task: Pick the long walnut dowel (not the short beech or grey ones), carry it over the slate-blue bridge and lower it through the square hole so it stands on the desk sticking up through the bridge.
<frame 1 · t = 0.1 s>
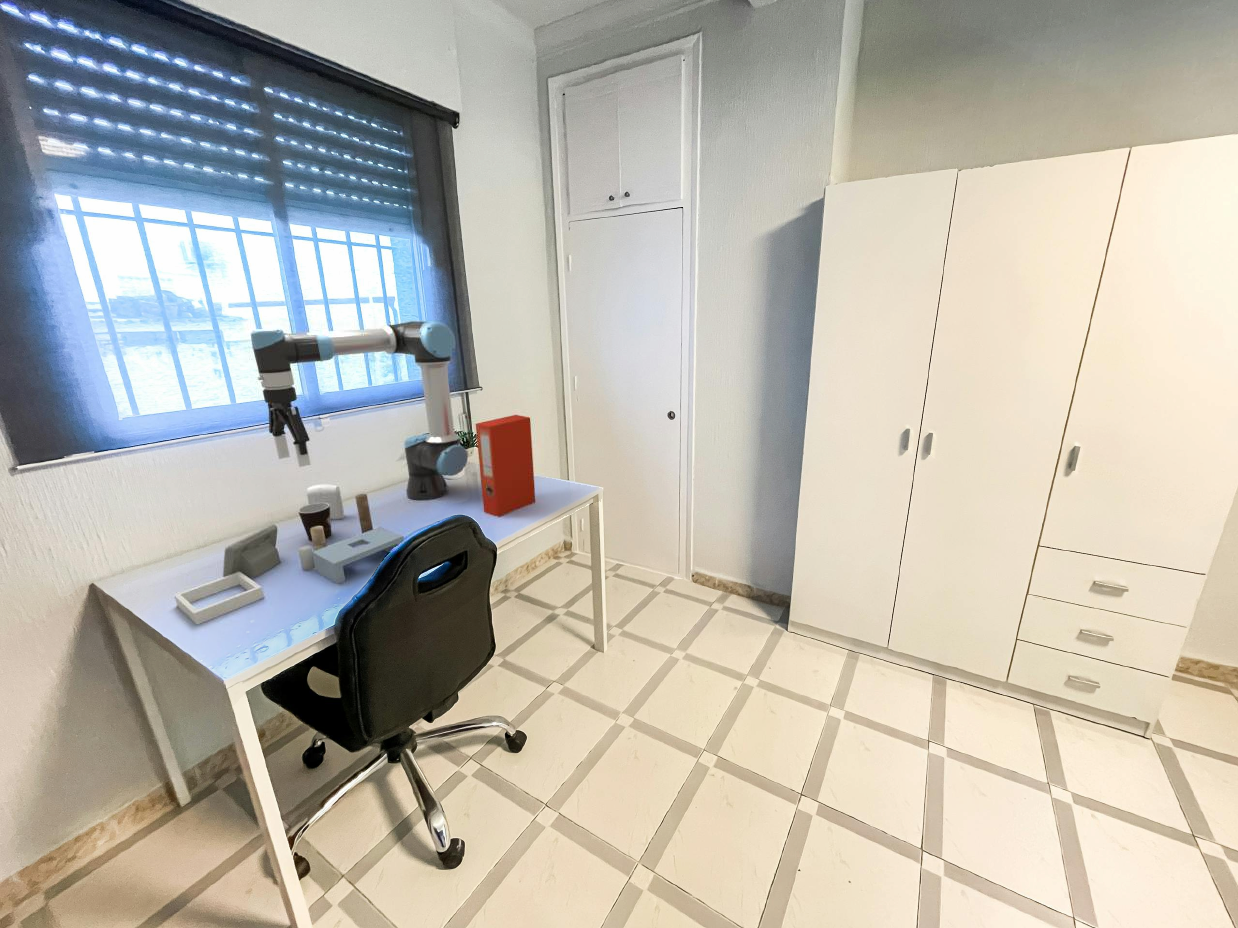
hand: (294, 461, 147), 28 cm above the table, fingers open, 13 cm apart
photo printer: (328, 518, 179), on the table
bridge: (362, 562, 147), on the table
digital clock: (255, 569, 145), on the table
medium dowel: (322, 556, 152), on the table
coffee mug: (323, 535, 166), on the table
short dowel: (309, 567, 145), on the table
file binder: (510, 507, 186), on the table
long dowel: (369, 540, 161), on the table
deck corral: (221, 601, 129), on the table
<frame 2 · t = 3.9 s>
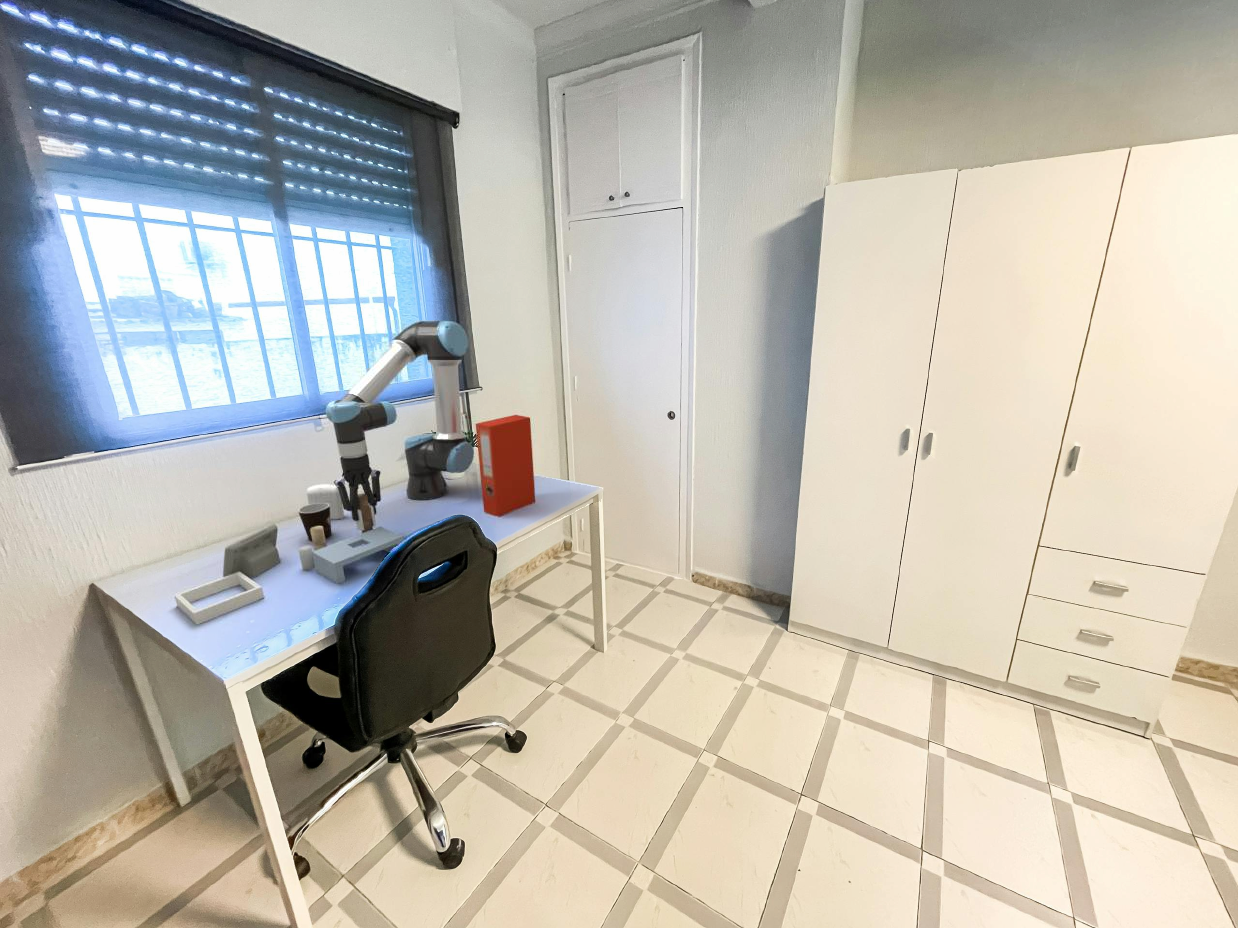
hand: (366, 526, 160), 5 cm above the table, fingers closed on long dowel, 3 cm apart
long dowel: (369, 540, 161), on the table, touching gripper
everything else where it was.
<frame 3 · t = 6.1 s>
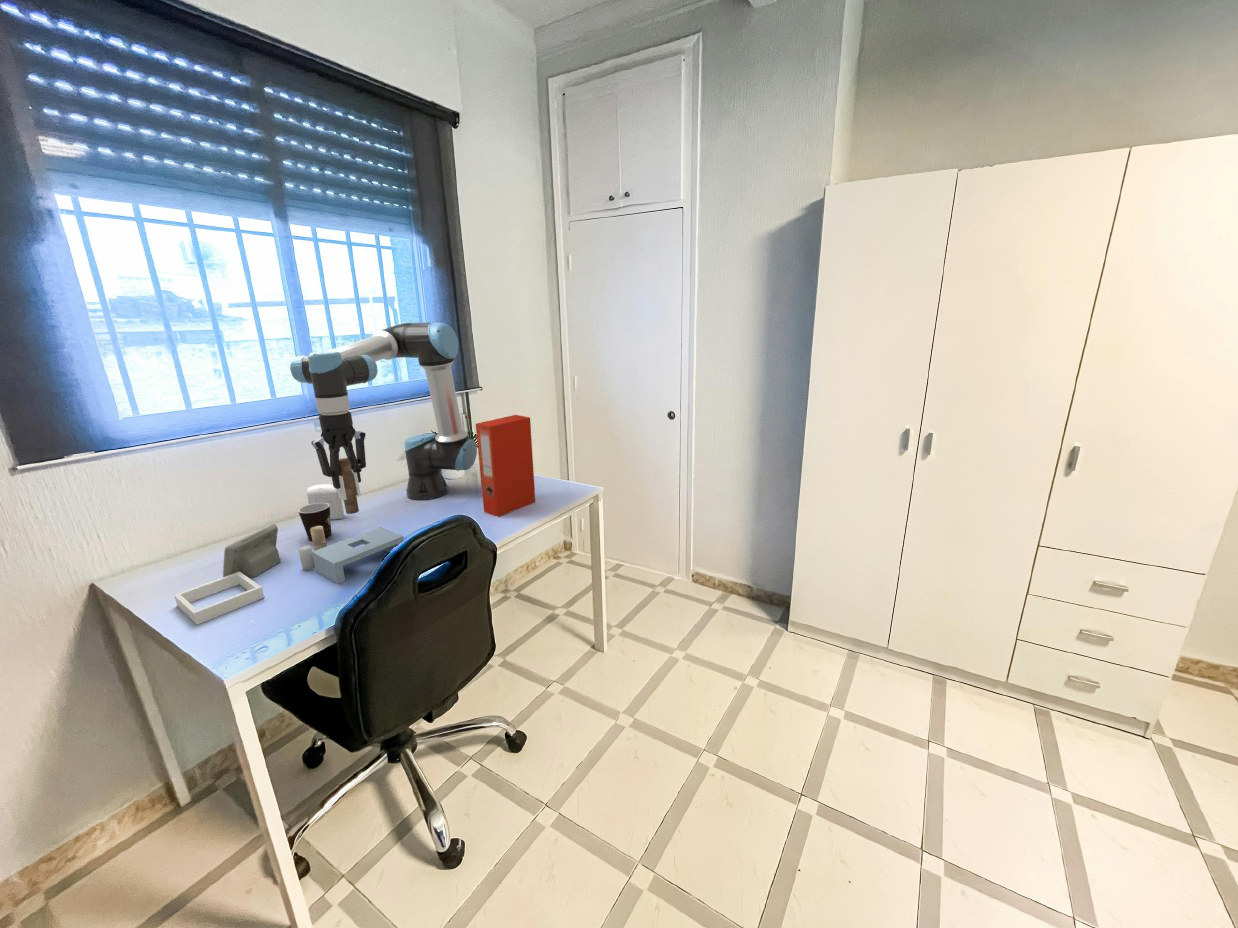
hand: (349, 496, 141), 20 cm above the table, fingers closed on long dowel, 3 cm apart
long dowel: (352, 511, 143), point 16 cm above the table, touching gripper
everything else where it was.
when the fingers open (8 cm above the table, at t = 8.5 s): long dowel drops 3 cm, on the table.
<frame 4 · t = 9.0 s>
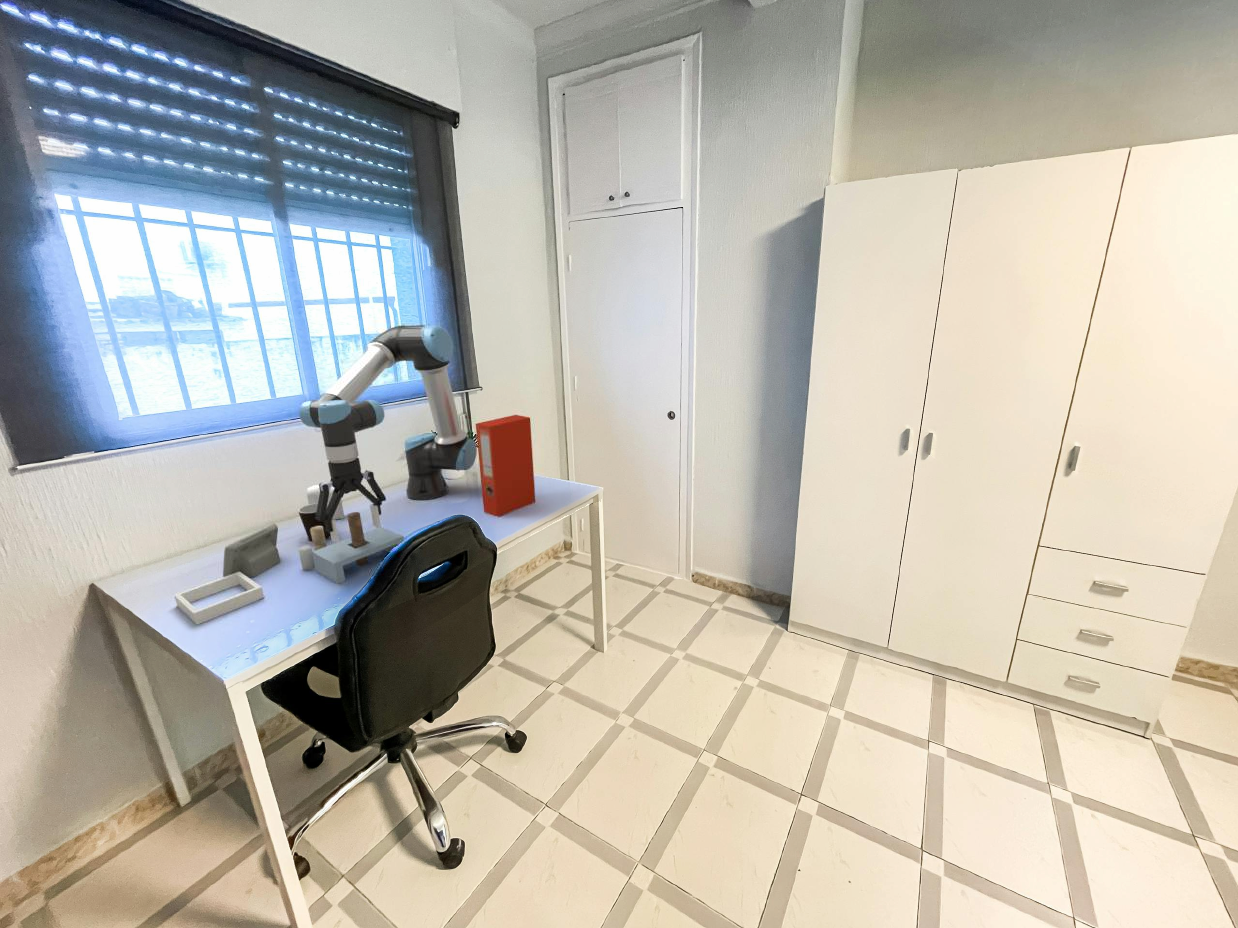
hand: (357, 533, 145), 9 cm above the table, fingers open, 11 cm apart
long dowel: (362, 562, 147), on the table
everything else where it was.
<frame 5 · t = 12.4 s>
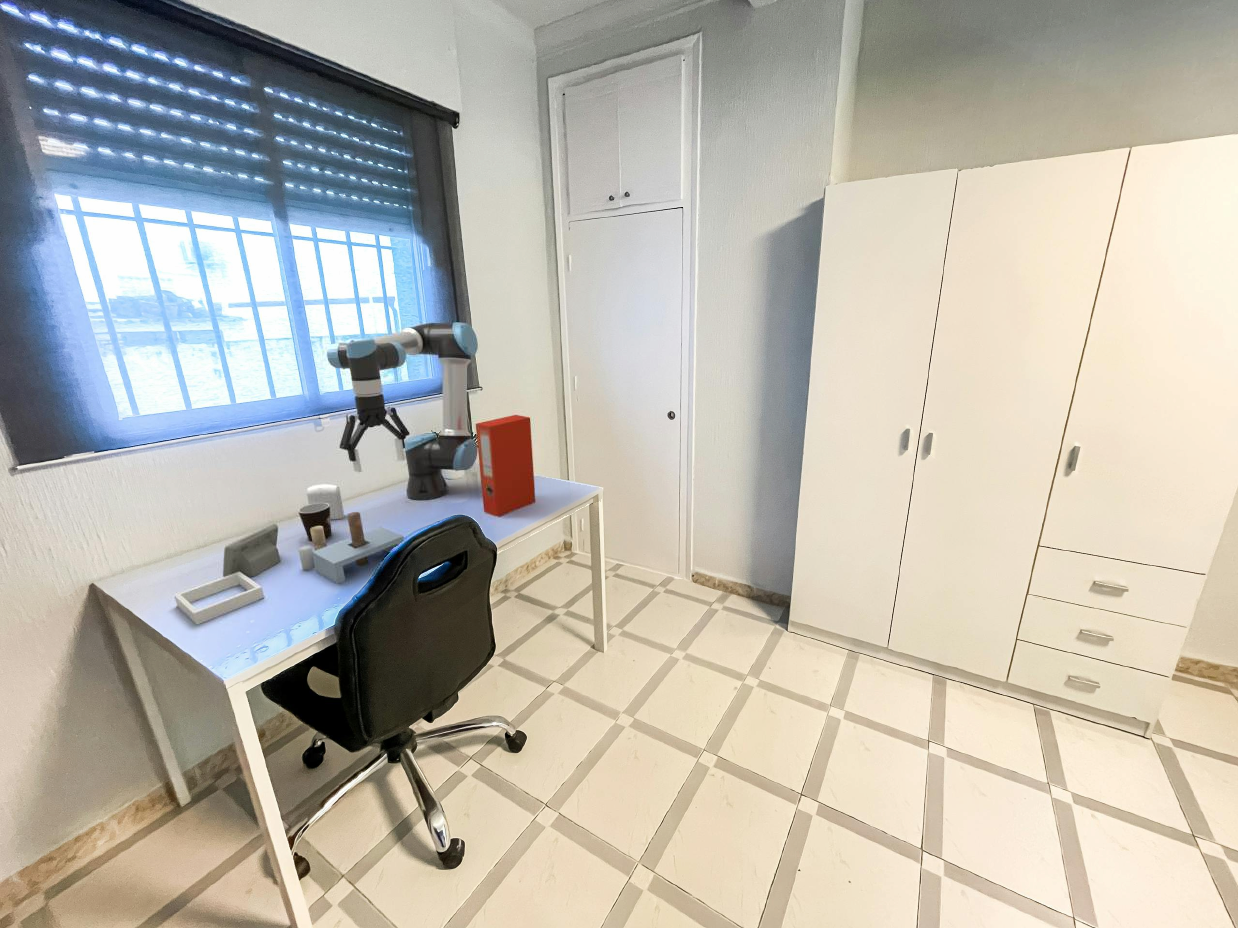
hand: (380, 465, 153), 25 cm above the table, fingers open, 13 cm apart
nothing on the table moved.
at the end: long dowel 0.0 cm off-centre on the bridge, point 0.0 cm above the bridge's base; long dowel tilted 0°; the gripper is holding nothing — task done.
